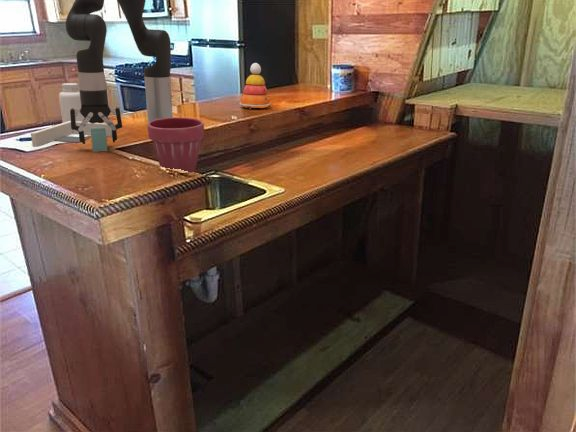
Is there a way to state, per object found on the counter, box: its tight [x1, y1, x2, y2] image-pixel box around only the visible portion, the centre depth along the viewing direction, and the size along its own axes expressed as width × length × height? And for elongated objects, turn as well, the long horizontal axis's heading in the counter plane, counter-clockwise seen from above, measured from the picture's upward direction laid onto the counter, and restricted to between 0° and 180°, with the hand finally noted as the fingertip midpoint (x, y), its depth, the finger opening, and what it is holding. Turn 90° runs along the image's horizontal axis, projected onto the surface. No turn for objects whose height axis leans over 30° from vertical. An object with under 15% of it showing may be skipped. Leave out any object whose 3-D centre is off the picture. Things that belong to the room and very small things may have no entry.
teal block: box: [90, 127, 108, 153], centre depth 151 cm, size 7×4×6 cm, turn 19°
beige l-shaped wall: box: [30, 121, 117, 147], centre depth 160 cm, size 20×17×4 cm
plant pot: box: [147, 116, 205, 173], centre depth 132 cm, size 14×14×13 cm
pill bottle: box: [58, 82, 84, 123], centre depth 178 cm, size 8×8×15 cm
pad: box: [53, 135, 90, 144], centre depth 162 cm, size 6×8×1 cm
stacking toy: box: [239, 62, 272, 107], centre depth 224 cm, size 14×14×20 cm
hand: (98, 142), depth 152 cm, fingers open, 8 cm apart
